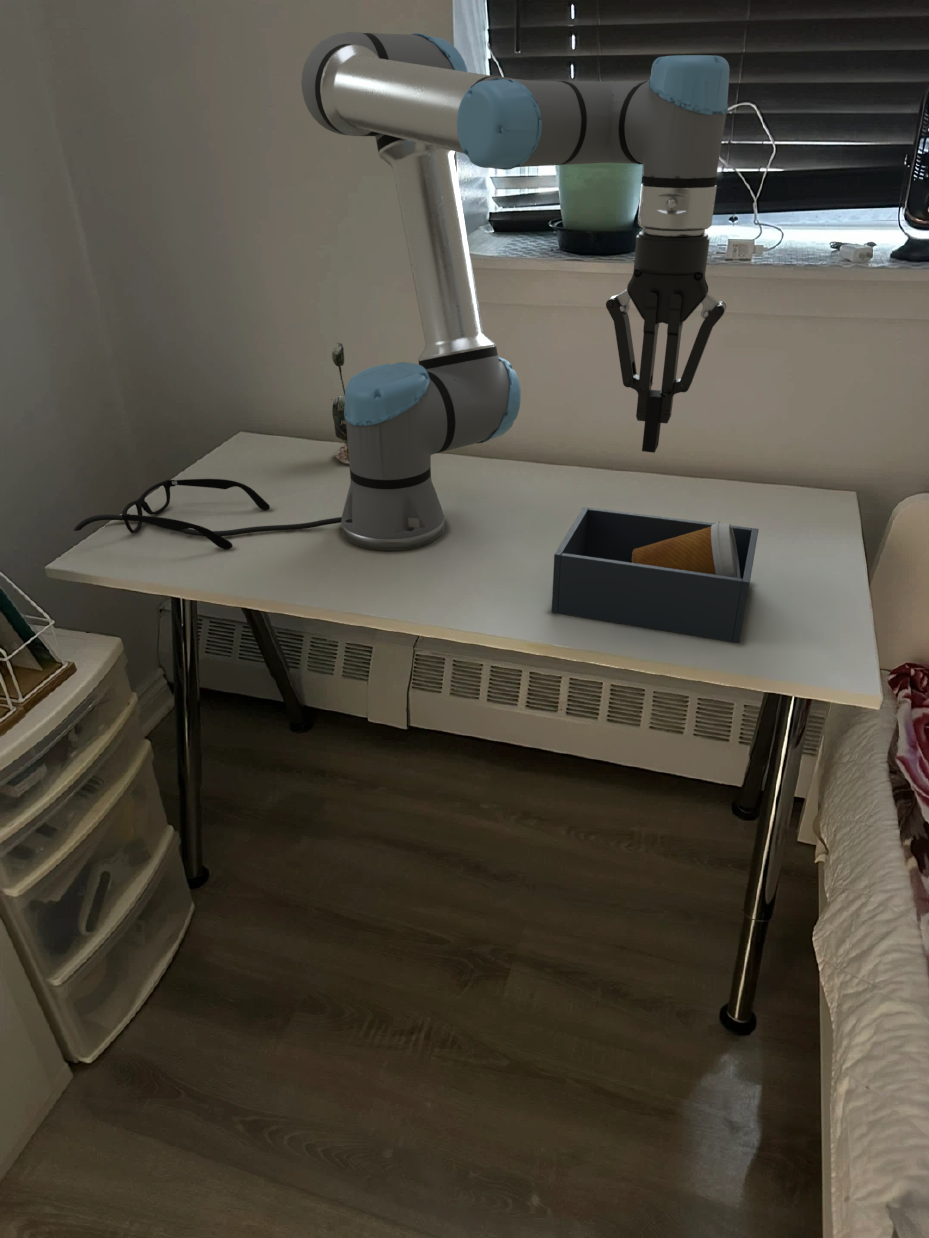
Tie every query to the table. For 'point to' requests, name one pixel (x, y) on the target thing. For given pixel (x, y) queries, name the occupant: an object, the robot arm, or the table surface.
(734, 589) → the bin
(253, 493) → the glasses
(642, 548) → the disposable coffee cup
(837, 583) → the table surface
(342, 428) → the plant with pod
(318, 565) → the table surface
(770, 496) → the table surface
